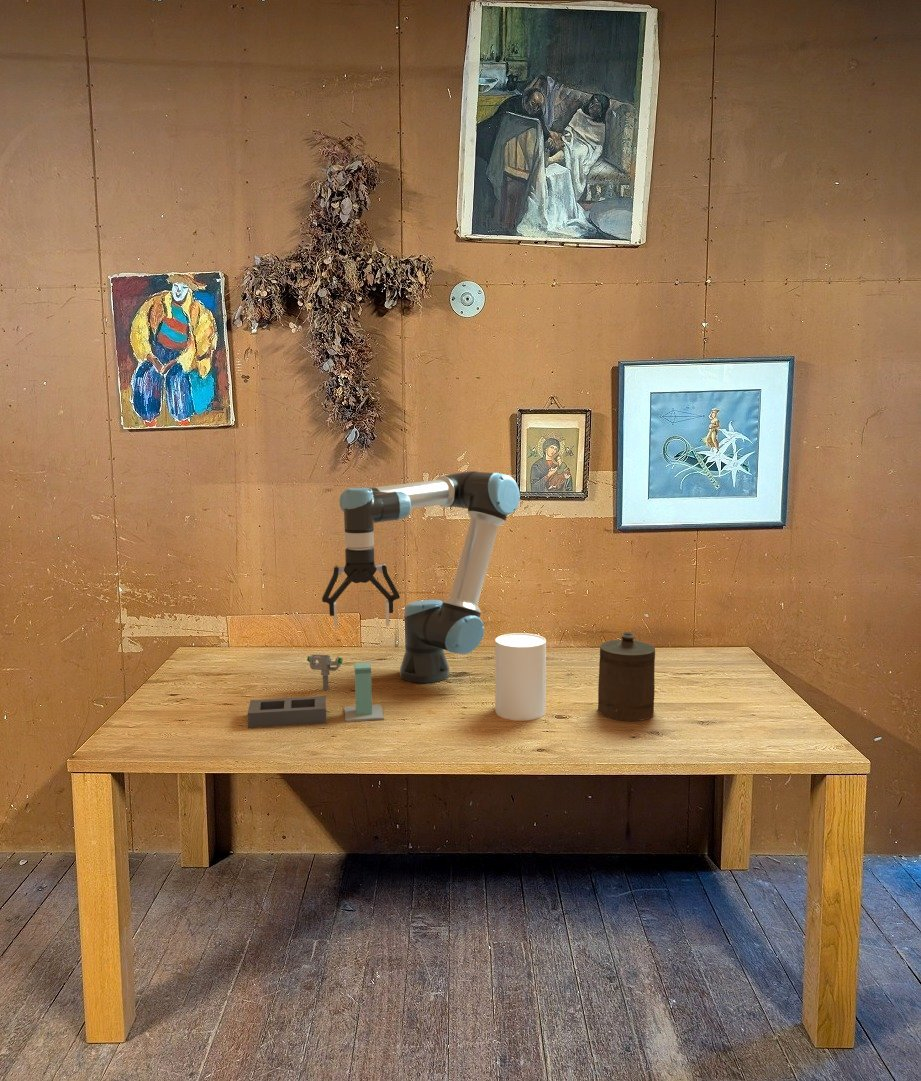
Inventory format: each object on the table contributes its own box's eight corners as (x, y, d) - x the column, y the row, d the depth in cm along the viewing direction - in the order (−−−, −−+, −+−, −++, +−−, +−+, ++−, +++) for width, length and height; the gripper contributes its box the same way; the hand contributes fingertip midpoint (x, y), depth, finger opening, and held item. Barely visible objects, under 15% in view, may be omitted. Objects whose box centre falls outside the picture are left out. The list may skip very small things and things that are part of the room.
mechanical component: (340, 692, 255) (339, 658, 253) (307, 689, 257) (306, 656, 255) (344, 688, 258) (343, 655, 256) (311, 686, 260) (309, 653, 258)
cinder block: (326, 709, 241) (325, 695, 240) (326, 723, 231) (325, 708, 231) (251, 714, 238) (250, 700, 237) (248, 728, 228) (247, 713, 228)
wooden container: (640, 700, 247) (642, 624, 243) (663, 719, 233) (665, 638, 229) (589, 704, 244) (591, 627, 240) (610, 724, 230) (612, 642, 226)
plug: (371, 708, 240) (370, 662, 238) (372, 714, 236) (371, 667, 234) (355, 709, 239) (354, 663, 237) (356, 715, 235) (354, 668, 233)
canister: (555, 711, 239) (556, 639, 236) (522, 724, 230) (522, 650, 226) (518, 699, 248) (518, 630, 245) (485, 711, 239) (484, 640, 236)
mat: (381, 706, 243) (381, 704, 243) (383, 719, 233) (383, 717, 233) (344, 708, 242) (344, 706, 242) (345, 722, 232) (345, 719, 232)
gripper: (405, 543, 235) (407, 620, 239) (311, 546, 232) (314, 624, 235) (408, 548, 228) (410, 627, 232) (310, 551, 224) (314, 632, 228)
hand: (361, 626), depth 234 cm, fingers open, 13 cm apart
